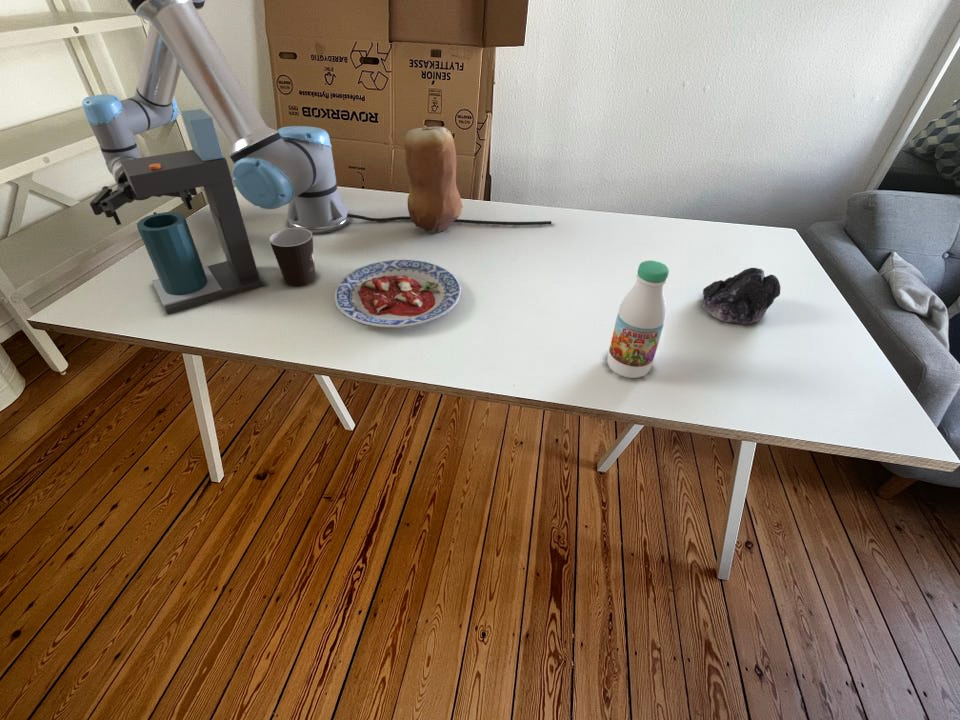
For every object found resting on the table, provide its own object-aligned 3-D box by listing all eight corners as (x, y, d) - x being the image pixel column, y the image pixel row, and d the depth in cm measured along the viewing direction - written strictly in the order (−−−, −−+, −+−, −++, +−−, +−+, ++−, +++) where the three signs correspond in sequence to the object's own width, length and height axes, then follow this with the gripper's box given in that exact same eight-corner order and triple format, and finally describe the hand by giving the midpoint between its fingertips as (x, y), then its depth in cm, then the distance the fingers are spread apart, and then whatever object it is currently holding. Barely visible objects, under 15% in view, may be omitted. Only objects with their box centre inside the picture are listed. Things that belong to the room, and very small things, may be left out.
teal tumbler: (212, 273, 111) (190, 211, 102) (200, 294, 105) (176, 230, 96) (172, 275, 110) (146, 212, 101) (157, 296, 104) (129, 231, 95)
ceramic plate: (331, 340, 97) (329, 327, 95) (338, 271, 116) (336, 259, 114) (468, 330, 100) (469, 317, 98) (453, 264, 120) (453, 253, 118)
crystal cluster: (686, 311, 108) (702, 272, 101) (713, 282, 115) (729, 244, 108) (749, 341, 102) (771, 302, 95) (773, 308, 110) (795, 270, 102)
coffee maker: (153, 285, 110) (81, 119, 89) (244, 261, 119) (198, 105, 98) (167, 314, 102) (91, 139, 81) (264, 285, 111) (218, 121, 90)
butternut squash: (422, 215, 140) (417, 116, 124) (469, 223, 137) (470, 123, 121) (399, 236, 130) (391, 132, 114) (449, 246, 127) (447, 139, 111)
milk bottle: (601, 352, 96) (622, 255, 83) (642, 351, 96) (669, 254, 84) (613, 380, 90) (638, 279, 77) (656, 378, 90) (688, 278, 78)
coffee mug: (309, 291, 109) (300, 248, 103) (272, 286, 111) (260, 243, 104) (332, 265, 118) (325, 224, 112) (297, 260, 119) (288, 220, 113)
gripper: (196, 184, 129) (221, 213, 116) (79, 207, 117) (92, 242, 104) (186, 153, 124) (211, 180, 111) (63, 174, 112) (74, 207, 99)
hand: (153, 210), depth 107 cm, fingers open, 13 cm apart
